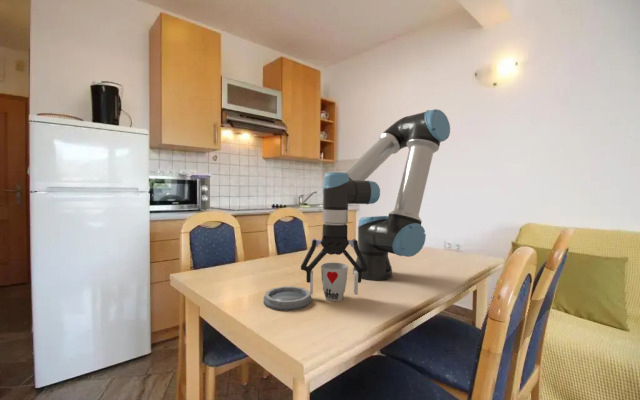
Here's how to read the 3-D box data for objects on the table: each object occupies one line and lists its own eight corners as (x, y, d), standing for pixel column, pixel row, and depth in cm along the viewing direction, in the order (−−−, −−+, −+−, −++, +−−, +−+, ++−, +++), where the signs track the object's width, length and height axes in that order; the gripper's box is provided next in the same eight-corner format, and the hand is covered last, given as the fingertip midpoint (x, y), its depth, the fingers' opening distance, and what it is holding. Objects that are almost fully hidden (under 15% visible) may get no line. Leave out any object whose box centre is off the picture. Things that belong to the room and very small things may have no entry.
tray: (310, 292, 94) (310, 285, 94) (312, 310, 80) (312, 302, 80) (266, 292, 93) (266, 286, 93) (260, 310, 79) (260, 302, 79)
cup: (315, 298, 89) (315, 265, 89) (332, 291, 95) (332, 261, 95) (335, 305, 84) (336, 270, 83) (352, 298, 90) (353, 265, 89)
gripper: (372, 222, 93) (370, 288, 94) (294, 221, 92) (292, 288, 92) (378, 225, 86) (376, 297, 86) (293, 224, 84) (292, 297, 85)
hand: (333, 293), depth 89 cm, fingers open, 13 cm apart
